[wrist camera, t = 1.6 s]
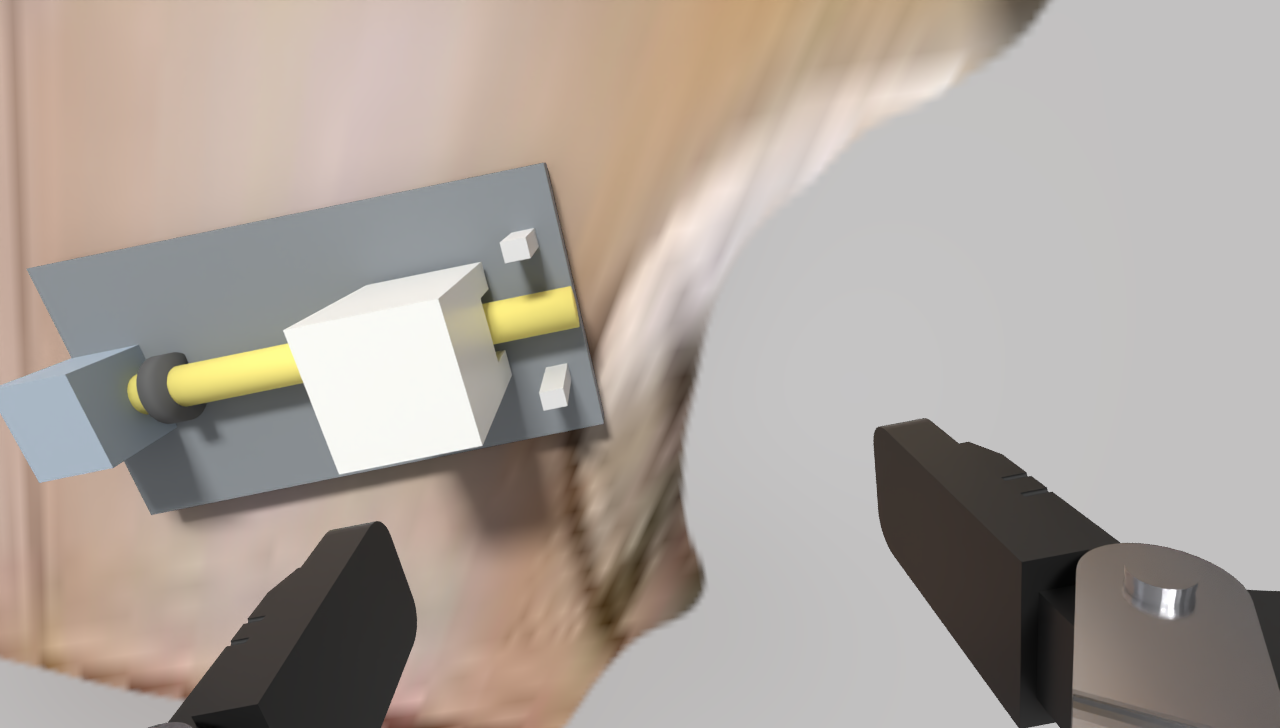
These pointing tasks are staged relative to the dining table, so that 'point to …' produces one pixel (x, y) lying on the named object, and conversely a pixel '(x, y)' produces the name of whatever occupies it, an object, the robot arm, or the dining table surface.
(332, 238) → the linear slide rail
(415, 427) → the sleeve
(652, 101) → the dining table surface
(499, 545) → the dining table surface
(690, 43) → the dining table surface
